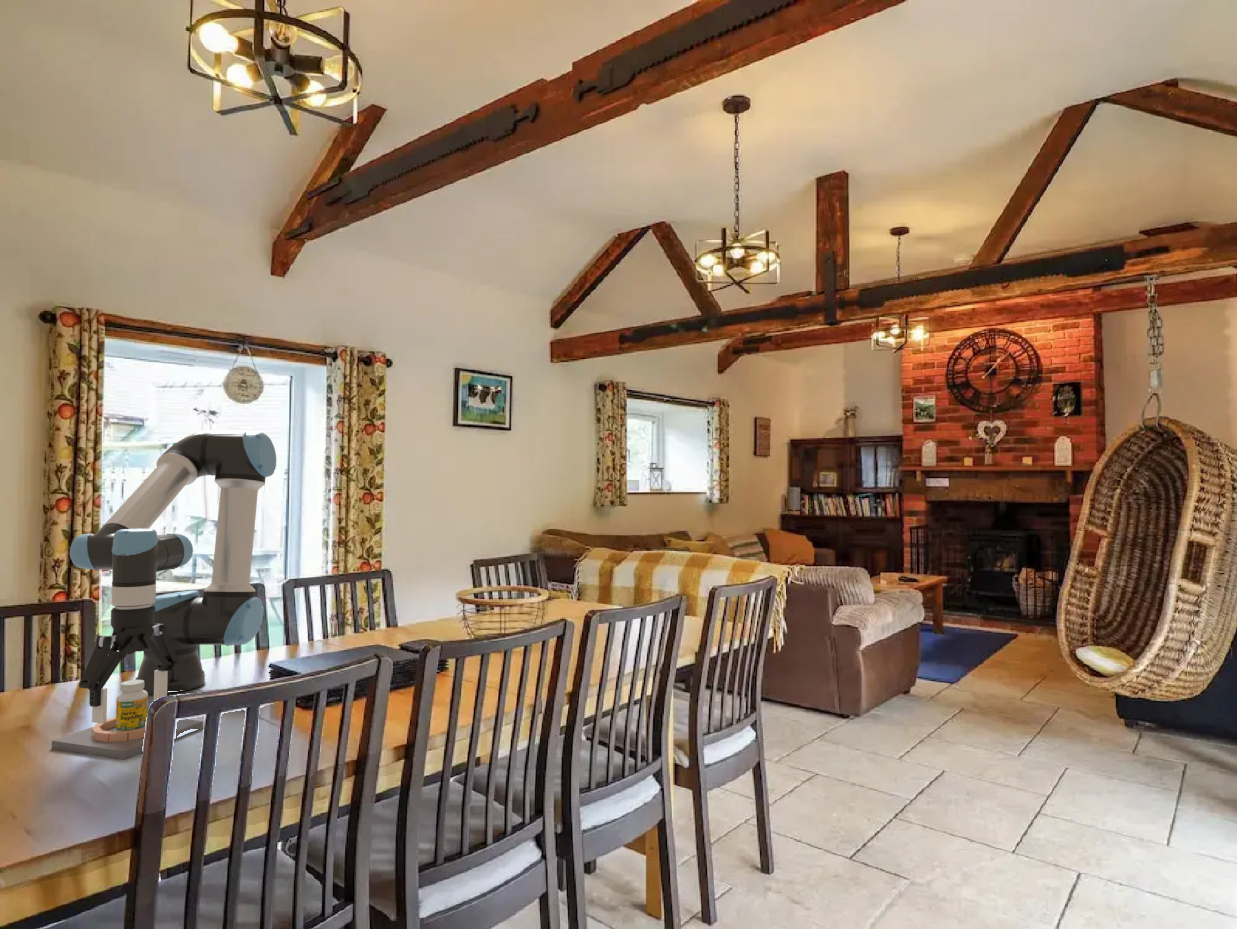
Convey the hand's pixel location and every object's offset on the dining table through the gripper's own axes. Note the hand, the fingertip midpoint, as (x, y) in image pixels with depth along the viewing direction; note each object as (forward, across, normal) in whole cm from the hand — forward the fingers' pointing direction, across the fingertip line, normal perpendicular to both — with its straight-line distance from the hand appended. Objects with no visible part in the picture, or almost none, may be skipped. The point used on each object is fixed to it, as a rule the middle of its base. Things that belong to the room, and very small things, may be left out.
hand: (131, 711), depth 150 cm
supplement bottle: (+4, 0, 0) cm, 4 cm away
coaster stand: (+5, 0, 0) cm, 5 cm away
